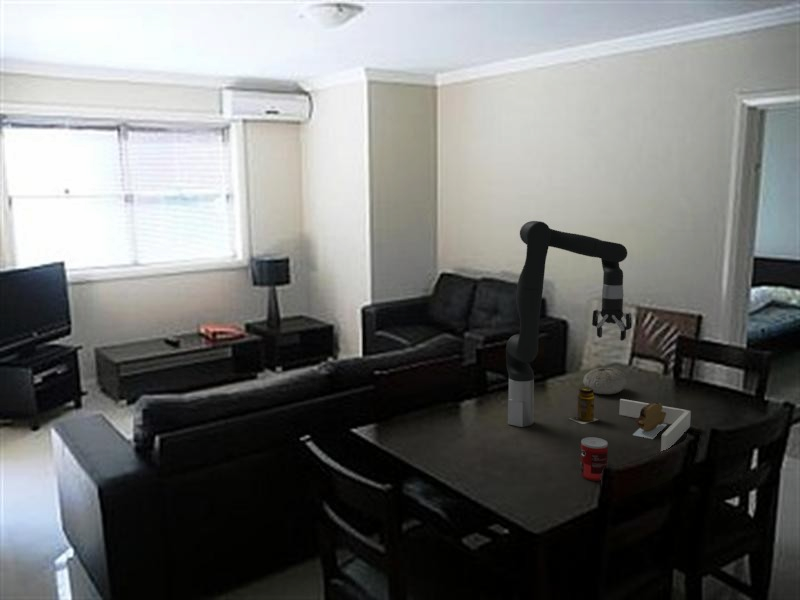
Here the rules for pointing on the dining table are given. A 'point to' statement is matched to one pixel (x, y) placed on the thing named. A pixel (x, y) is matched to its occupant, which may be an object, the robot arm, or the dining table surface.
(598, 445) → the canned food
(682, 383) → the dining table surface
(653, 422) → the wooden carving
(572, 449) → the dining table surface
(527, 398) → the robot arm
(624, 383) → the decorative shell
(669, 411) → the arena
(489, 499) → the dining table surface
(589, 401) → the condiment
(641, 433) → the pad
